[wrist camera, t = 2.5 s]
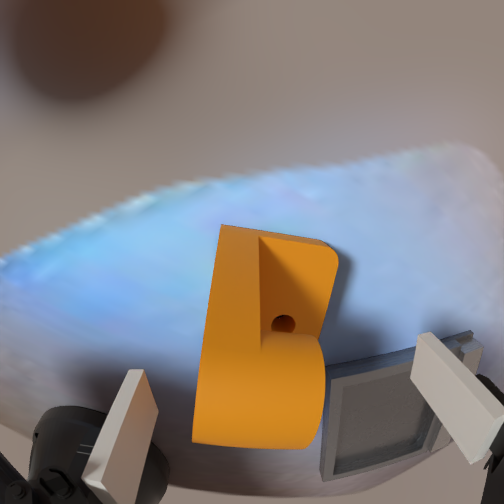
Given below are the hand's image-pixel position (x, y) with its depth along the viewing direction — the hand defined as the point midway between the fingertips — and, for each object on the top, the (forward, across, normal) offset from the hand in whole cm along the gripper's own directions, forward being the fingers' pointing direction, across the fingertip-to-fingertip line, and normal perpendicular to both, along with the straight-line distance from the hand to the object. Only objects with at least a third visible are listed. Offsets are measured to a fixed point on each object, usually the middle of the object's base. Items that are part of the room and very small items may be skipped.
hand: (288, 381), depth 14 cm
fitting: (+9, +11, -14) cm, 20 cm away
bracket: (+9, -1, 0) cm, 9 cm away
